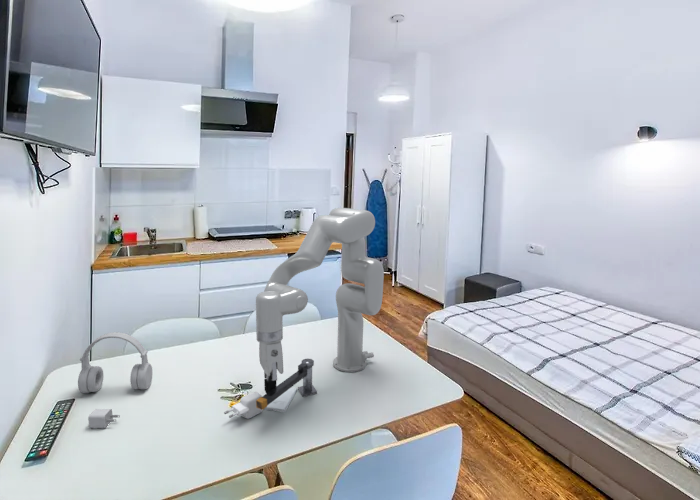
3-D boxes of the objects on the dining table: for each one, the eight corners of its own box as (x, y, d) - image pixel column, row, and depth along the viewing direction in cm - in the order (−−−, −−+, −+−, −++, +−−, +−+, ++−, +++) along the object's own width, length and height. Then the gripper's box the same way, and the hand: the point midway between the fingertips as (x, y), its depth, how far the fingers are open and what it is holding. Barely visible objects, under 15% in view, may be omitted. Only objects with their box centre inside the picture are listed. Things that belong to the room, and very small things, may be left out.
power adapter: (231, 429, 114) (231, 410, 113) (222, 422, 117) (221, 403, 116) (264, 413, 122) (264, 395, 121) (255, 406, 125) (254, 389, 124)
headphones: (154, 380, 139) (150, 327, 135) (146, 394, 131) (142, 338, 127) (90, 384, 135) (84, 330, 132) (78, 398, 127) (71, 341, 123)
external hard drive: (297, 392, 135) (285, 414, 123) (273, 389, 136) (259, 410, 124) (297, 388, 135) (285, 409, 123) (273, 385, 136) (259, 405, 124)
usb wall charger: (97, 420, 117) (96, 407, 116) (122, 420, 117) (121, 407, 116) (89, 429, 113) (88, 416, 112) (115, 429, 113) (113, 416, 112)
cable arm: (305, 368, 136) (306, 357, 135) (316, 371, 134) (316, 360, 133) (253, 406, 113) (253, 393, 113) (265, 410, 112) (264, 397, 111)
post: (312, 386, 138) (312, 361, 136) (317, 393, 134) (317, 367, 132) (297, 389, 136) (298, 363, 134) (302, 396, 131) (302, 370, 130)
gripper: (290, 341, 113) (290, 401, 116) (275, 323, 126) (275, 377, 130) (263, 346, 110) (264, 407, 113) (250, 326, 123) (252, 382, 126)
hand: (270, 391), depth 121 cm, fingers closed
